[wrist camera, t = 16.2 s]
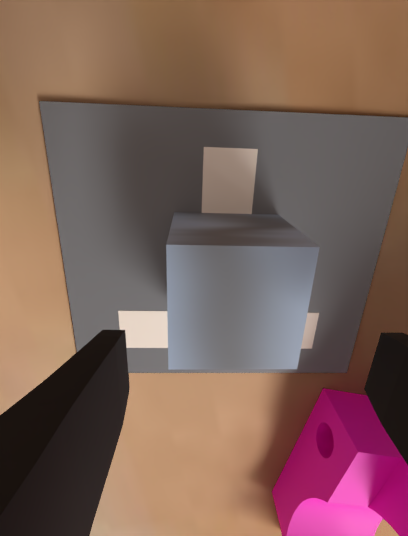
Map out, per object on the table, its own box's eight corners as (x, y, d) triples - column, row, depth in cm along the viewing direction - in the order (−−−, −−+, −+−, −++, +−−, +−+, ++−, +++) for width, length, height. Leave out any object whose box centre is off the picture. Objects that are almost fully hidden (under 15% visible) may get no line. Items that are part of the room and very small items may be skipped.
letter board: (412, 118, 13) (416, 117, 13) (345, 370, 19) (346, 373, 18) (41, 101, 12) (38, 101, 12) (81, 370, 18) (79, 373, 18)
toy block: (322, 385, 19) (395, 521, 12) (408, 400, 20) (523, 534, 13) (253, 525, 25) (278, 674, 18) (323, 532, 25) (373, 677, 19)
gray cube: (278, 214, 14) (319, 247, 10) (267, 305, 16) (297, 369, 12) (174, 212, 14) (166, 244, 10) (174, 305, 16) (168, 369, 12)
